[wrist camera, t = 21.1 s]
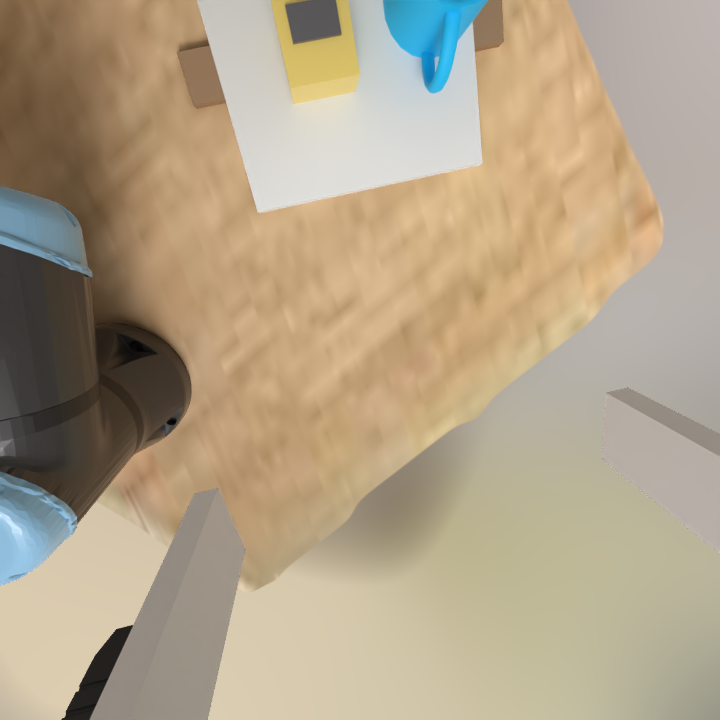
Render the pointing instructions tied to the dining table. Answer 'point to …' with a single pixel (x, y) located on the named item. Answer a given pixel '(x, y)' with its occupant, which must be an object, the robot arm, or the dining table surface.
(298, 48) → the block
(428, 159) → the drywall panel
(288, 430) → the dining table surface
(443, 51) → the mug
